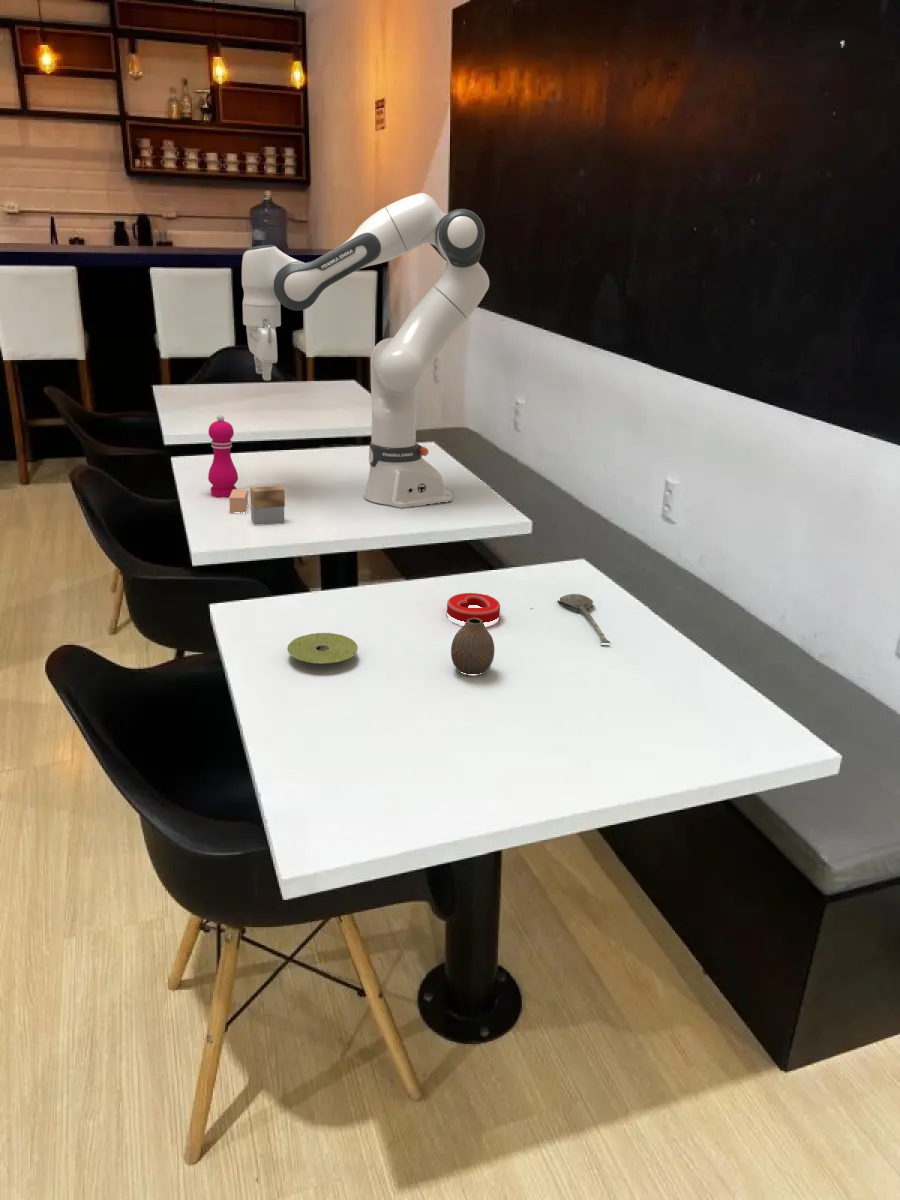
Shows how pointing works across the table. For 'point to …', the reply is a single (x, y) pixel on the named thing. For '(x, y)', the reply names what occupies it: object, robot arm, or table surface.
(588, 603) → the soupspoon
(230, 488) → the pepper mill
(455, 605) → the decorative ornament
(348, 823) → the table surface
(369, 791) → the table surface
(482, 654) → the vase
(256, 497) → the walnut brick
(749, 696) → the table surface
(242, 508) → the terracotta brick
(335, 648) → the mat
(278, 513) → the slate-grey brick
